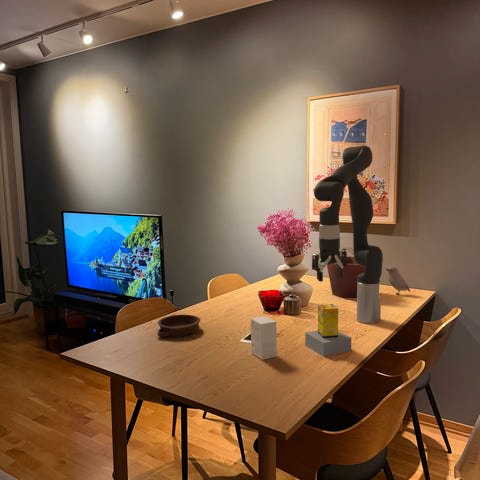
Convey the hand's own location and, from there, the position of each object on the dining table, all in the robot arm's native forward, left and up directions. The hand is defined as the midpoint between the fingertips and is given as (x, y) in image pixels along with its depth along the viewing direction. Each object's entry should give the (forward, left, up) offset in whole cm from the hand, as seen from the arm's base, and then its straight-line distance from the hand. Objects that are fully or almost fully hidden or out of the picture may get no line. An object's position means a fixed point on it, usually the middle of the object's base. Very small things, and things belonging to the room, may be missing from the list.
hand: (329, 279), depth 170 cm
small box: (+27, -1, -25) cm, 37 cm away
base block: (+3, +4, -25) cm, 25 cm away
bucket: (-50, -54, -25) cm, 78 cm away
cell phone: (+21, -19, -26) cm, 38 cm away
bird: (-73, -42, -25) cm, 88 cm away
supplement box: (+3, +4, -20) cm, 21 cm away
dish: (+47, -39, -25) cm, 66 cm away
